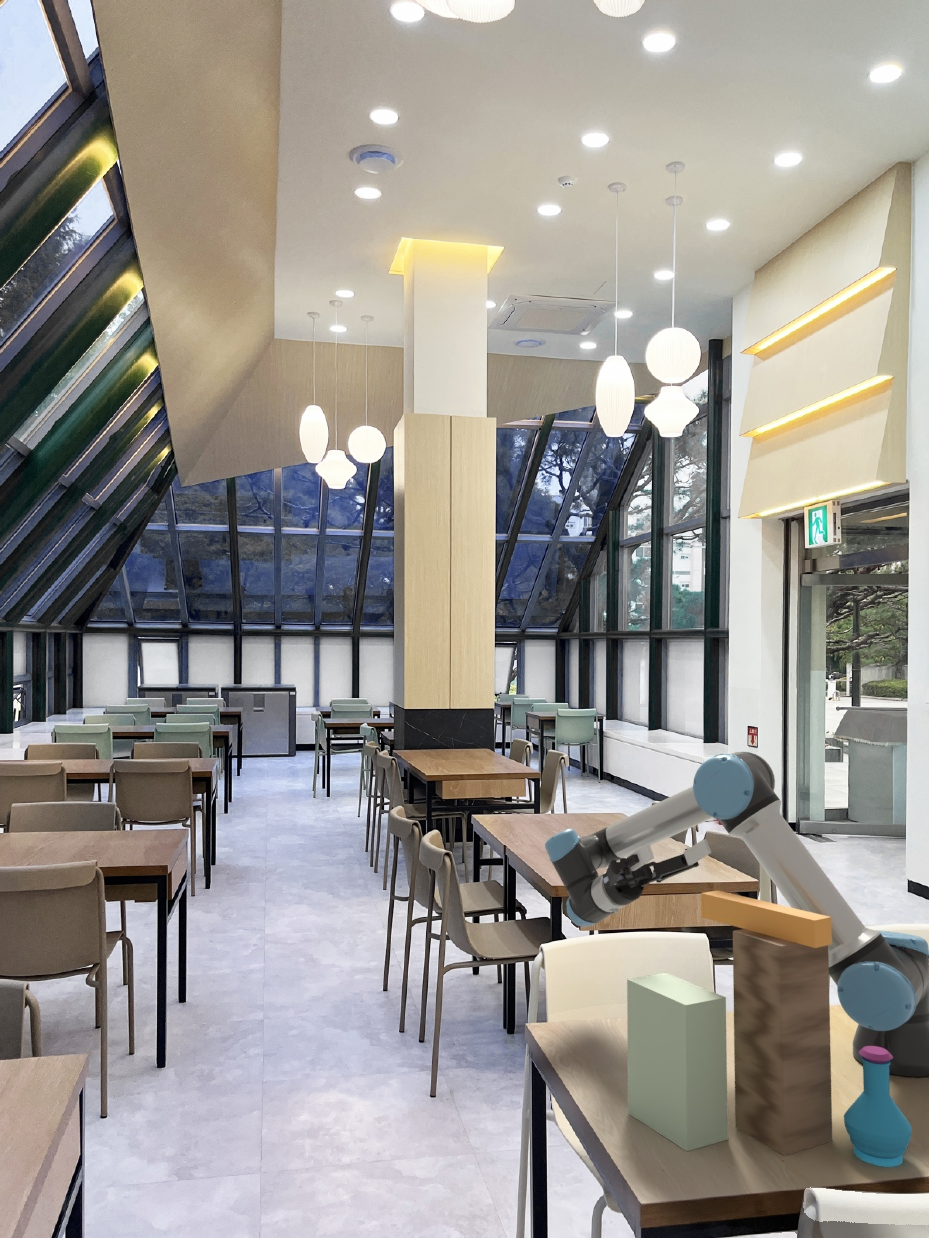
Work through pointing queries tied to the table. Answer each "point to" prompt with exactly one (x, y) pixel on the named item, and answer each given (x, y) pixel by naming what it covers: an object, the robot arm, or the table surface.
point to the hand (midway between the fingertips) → (679, 848)
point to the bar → (767, 918)
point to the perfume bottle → (877, 1114)
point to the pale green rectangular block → (677, 1059)
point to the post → (781, 1041)
